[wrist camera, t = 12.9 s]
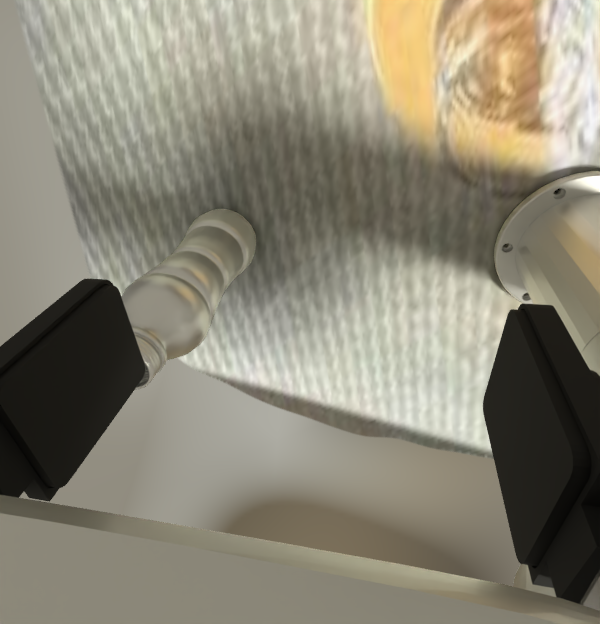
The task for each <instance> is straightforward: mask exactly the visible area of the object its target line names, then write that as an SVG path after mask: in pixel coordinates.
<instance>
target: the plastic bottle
mask: <svg viewBox="0 0 600 624" xmlns="http://www.w3.org/2000/svg"><path fill="white" fill-rule="evenodd" d="M256 244H257V243H256V235H255V232H254V230H253V227H252V226H251V224H250V223H249V222H248V221H247V220H246V219H245V218H244V217H243V216H241V215H240V214H239V213H236V212H234V211H232V210H228V209H214V210H211V211H208V212H206V213H204V214H202V215H201V216H199V217H198V218H196V219H195V220H194V222H193V223H192V224H191V226H190V227H189V229H188V231H187V233H186V234H185V237H184V239H183V240H182V242H181V243H180V245H179V246H178V247H177V249H176V250H175V251H174V252H173V253H172V254H171V255H170V256H169V257H168V258H166V259H165V260H164V261H163V262H162V263H161V264H160V265H158V266H157V267H155V268H154V269H152V270H151V271H149V272H148V273H146V274H144V275H143V276H141V277H140V278H138V279H137V280H135V281H134V282H133V283H132V284H131V285H129V286H128V287H127V289H126V290H125V291H124V293H123V295H122V297H121V298H122V301H123V304H124V306H125V309H126V312H127V315H128V318H129V321H130V323H131V326H132V329H133V332H134V335H135V338H136V341H137V343H138V346H139V349H140V352H141V355H142V358H143V360H144V363H145V374H144V377H143V378H142V380H141V381H140V383H139V384H138V385H137V387H136V388H135V389H141V388H143V387H146V385H148V384H149V383H150V382H151V381H152V379H153V378H154V376H155V375H156V373H158V372H159V371H160V370H161V369H162V368H163V366H164V365H165V363H166V361H167V360H169V359H174V358H177V357H180V356H183V355H186V354H188V353H189V352H191V351H192V350H193V349H195V348H196V347H197V346H199V345H200V344H201V343H202V341H203V340H204V339H205V337H206V335H207V333H208V331H209V328H210V326H211V322H212V320H213V317H214V314H215V311H216V308H217V306H218V304H219V302H220V300H221V298H222V296H223V294H224V292H225V291H226V289H227V287H228V286H229V285H230V284H231V283H232V281H233V280H234V279H235V278H236V277H237V276H238V275H240V274H241V273H242V272H243V271H244V270H245V269H246V268H247V267H248V266H249V265H250V263H251V262H252V260H253V257H254V254H255V250H256Z"/></svg>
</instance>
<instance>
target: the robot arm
mask: <svg viewBox="0 0 600 624" xmlns="http://www.w3.org/2000/svg"><path fill="white" fill-rule="evenodd" d="M557 189H559V191H558V192H557V193H554V192H555V190H557ZM507 243H508V244H507ZM505 244H507V245H506V246H503V245H505ZM494 262H495V268H496V272H497V274H498V277H499V279H500V281H501V283H502V284H503V286H504V288H505V289H506V290H507V291H508V292H509V293H510V294H511V295H512V296H513V297H514V298H515V299H517V300H518V301H519V302H521V303H523V304H521V305H520V306H519V308H518V310H510V312H509V313H508V316H507V320H506V323H505V327H504V330H503V334H502V337H501V340H500V344H499V347H498V351H497V354H496V358H495V361H494V365H493V368H492V372H491V375H490V379H489V382H488V385H487V389H486V392H485V396H484V401H483V412H484V417H485V421H486V426H487V430H488V435H489V439H490V443H491V448H492V452H493V457H494V461H495V465H496V470H497V473H498V478H499V483H500V487H501V491H502V496H503V500H504V504H505V509H506V513H507V518H508V522H509V527H510V531H511V535H512V539H513V544H514V548H515V552H516V556H517V559H518V561H519V562H520V563H521V565H520V567H519V569H518V571H517V573H516V575H515V579H514V583H513V587H512V586H508V585H504V584H499V583H494V582H488V581H484V580H478V579H473V578H468V577H463V576H458V575H453V574H448V573H443V572H438V571H432V570H427V569H422V568H417V567H412V566H407V565H402V564H397V563H391V562H385V561H380V560H374V559H369V558H363V557H357V556H351V555H346V554H340V553H335V552H329V551H323V550H318V549H312V548H307V547H301V546H296V545H290V544H284V543H279V542H273V541H267V540H262V539H256V538H250V537H244V536H239V535H233V534H228V533H222V532H216V531H210V530H205V529H199V528H193V527H187V526H182V525H176V524H170V523H164V522H159V521H153V520H147V519H141V518H135V517H129V516H124V515H117V514H112V513H106V512H100V511H94V510H88V509H83V508H77V507H70V506H65V505H59V504H52V503H47V502H41V501H35V500H28V499H23V498H19V497H20V495H21V494H22V493H23V491H24V492H25V493H26V494H27V496H28V497H29V498H33V499H39V500H45V501H50V500H51V499H52V498H53V496H54V495H55V494H56V492H57V491H58V489H59V488H61V487H63V486H65V485H66V484H67V483H68V481H69V480H70V479H71V478H72V476H73V475H74V473H75V472H76V471H77V469H78V468H79V466H80V465H81V464H82V462H83V461H84V459H85V458H86V457H87V455H88V454H89V452H90V451H91V450H92V448H93V447H94V445H95V444H96V443H97V441H98V440H99V438H100V437H101V436H102V434H103V433H104V432H105V430H106V429H107V427H108V426H109V425H110V423H111V422H112V420H113V419H114V417H115V416H116V415H117V413H118V412H119V411H120V409H121V408H122V406H123V405H124V404H125V402H126V401H127V399H128V398H129V397H130V395H131V394H132V392H133V391H134V390H135V388H136V387H137V385H138V384H139V383H140V381H141V380H142V378H143V377H144V374H145V363H144V360H143V358H142V355H141V352H140V349H139V346H138V343H137V341H136V338H135V335H134V332H133V329H132V326H131V323H130V321H129V318H128V315H127V312H126V309H125V306H124V304H123V301H122V298H121V295H120V292H119V290H118V288H117V287H115V286H113V284H112V283H111V282H110V281H108V280H102V279H84V280H82V281H80V282H79V283H78V284H77V285H76V286H74V287H73V288H72V289H71V290H69V291H68V292H67V293H66V294H64V295H63V296H62V297H61V298H59V300H57V301H56V302H55V303H54V304H52V305H51V306H50V307H49V308H47V309H46V310H45V311H43V312H42V313H41V314H40V315H39V316H37V317H36V318H35V319H34V320H32V321H31V322H30V323H29V324H27V325H26V326H25V327H24V328H23V329H21V330H20V331H19V332H18V333H16V334H15V335H14V336H13V337H11V338H10V339H9V340H8V341H7V342H5V343H4V344H3V345H2V346H1V347H0V624H600V171H589V172H583V173H576V174H572V175H569V176H566V177H563V178H560V179H557V180H555V181H553V182H551V183H549V184H547V185H545V186H543V187H541V188H540V189H538V190H537V191H535V192H534V193H532V194H531V195H529V196H528V197H527V198H525V199H524V200H523V201H522V202H521V203H520V204H519V205H518V206H517V207H516V208H515V209H514V210H513V211H512V213H511V214H510V215H509V217H508V218H507V219H506V221H505V222H504V224H503V226H502V228H501V230H500V232H499V234H498V237H497V240H496V244H495V249H494Z"/></svg>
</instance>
